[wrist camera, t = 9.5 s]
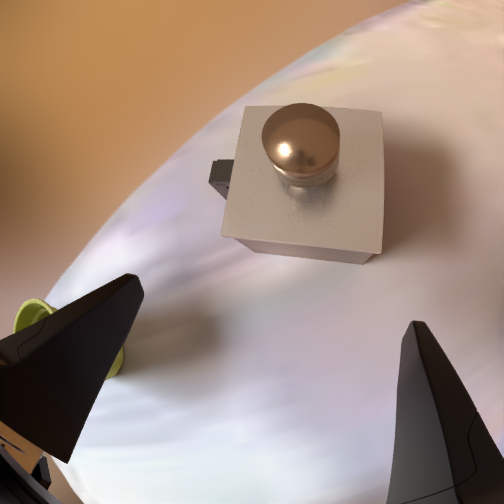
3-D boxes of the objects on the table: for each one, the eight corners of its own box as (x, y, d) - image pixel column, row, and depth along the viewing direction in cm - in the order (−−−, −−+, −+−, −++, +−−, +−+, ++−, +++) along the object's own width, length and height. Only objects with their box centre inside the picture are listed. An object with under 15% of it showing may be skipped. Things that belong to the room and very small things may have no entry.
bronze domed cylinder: (335, 225, 20) (338, 171, 12) (286, 220, 21) (256, 165, 13) (338, 179, 21) (340, 104, 12) (292, 175, 22) (266, 103, 13)
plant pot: (128, 295, 26) (58, 289, 17) (148, 392, 24) (83, 418, 15) (69, 309, 27) (7, 306, 19) (85, 391, 25) (25, 405, 17)
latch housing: (365, 267, 21) (381, 252, 14) (228, 251, 24) (189, 232, 17) (370, 161, 22) (381, 112, 15) (245, 153, 25) (217, 108, 18)
